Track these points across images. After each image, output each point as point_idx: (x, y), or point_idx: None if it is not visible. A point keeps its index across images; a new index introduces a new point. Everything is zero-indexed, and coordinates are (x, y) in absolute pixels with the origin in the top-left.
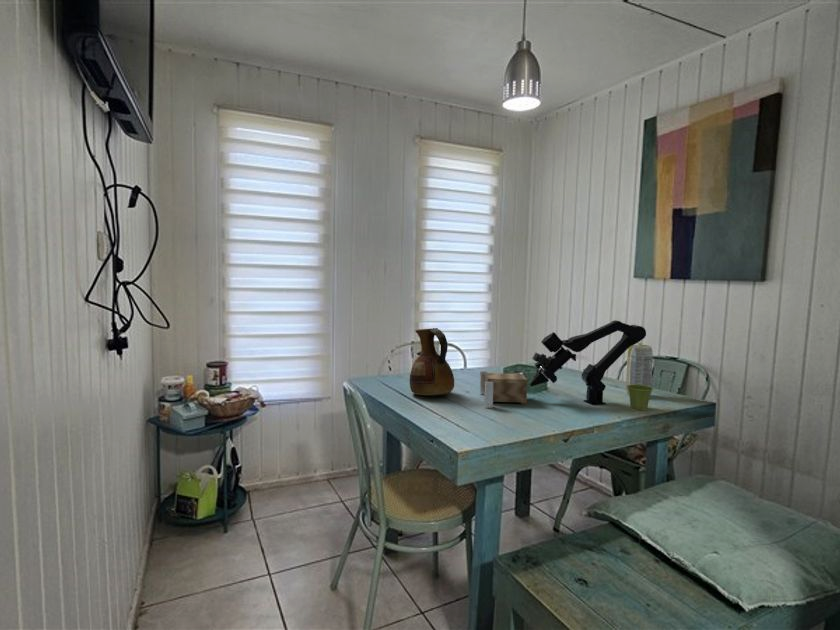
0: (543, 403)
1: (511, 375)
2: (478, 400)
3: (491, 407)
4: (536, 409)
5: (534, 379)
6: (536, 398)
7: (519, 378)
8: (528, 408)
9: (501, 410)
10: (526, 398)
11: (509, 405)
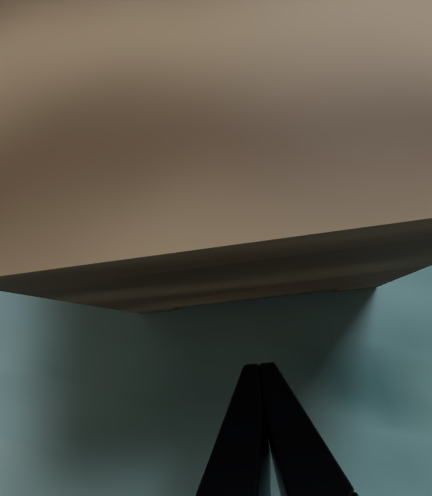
0: None
1: (286, 13)
2: None
3: None
4: (24, 380)
5: (214, 476)
6: (392, 434)
7: (41, 150)
8: (48, 321)
9: None
10: (118, 309)
11: None
